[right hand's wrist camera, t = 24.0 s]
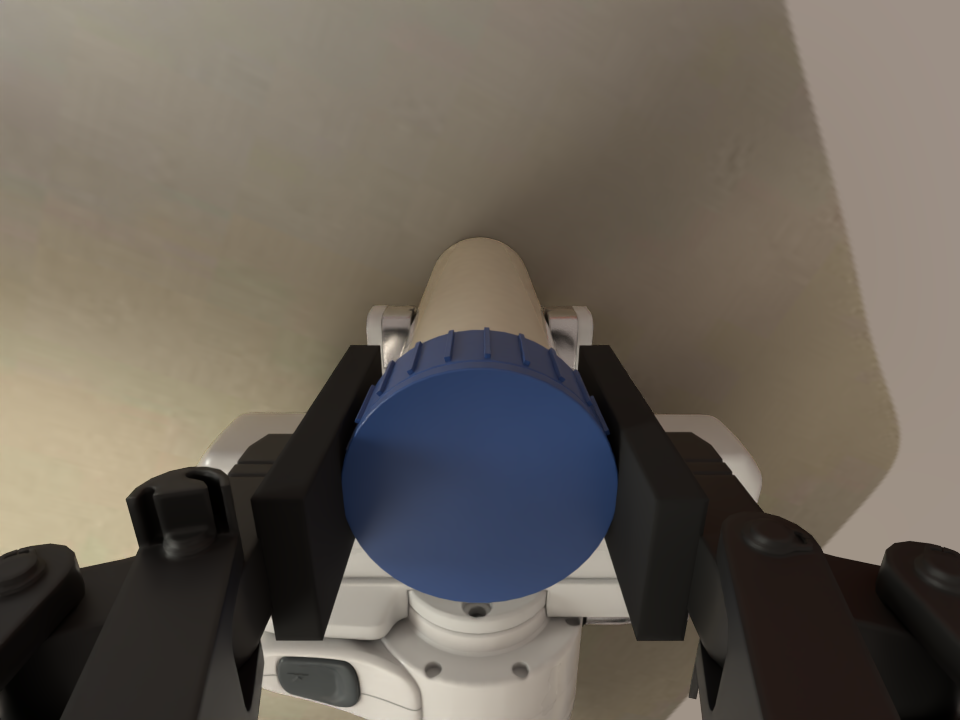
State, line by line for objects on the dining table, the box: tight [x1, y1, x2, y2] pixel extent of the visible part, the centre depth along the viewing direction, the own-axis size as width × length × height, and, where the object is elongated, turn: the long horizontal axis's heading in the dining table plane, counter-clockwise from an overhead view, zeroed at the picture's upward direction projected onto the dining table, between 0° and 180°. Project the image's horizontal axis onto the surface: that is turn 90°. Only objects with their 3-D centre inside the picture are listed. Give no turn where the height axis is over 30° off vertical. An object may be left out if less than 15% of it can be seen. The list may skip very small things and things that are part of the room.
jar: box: [399, 237, 560, 358], centre depth 18 cm, size 5×5×15 cm
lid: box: [341, 327, 618, 603], centre depth 11 cm, size 5×5×2 cm
